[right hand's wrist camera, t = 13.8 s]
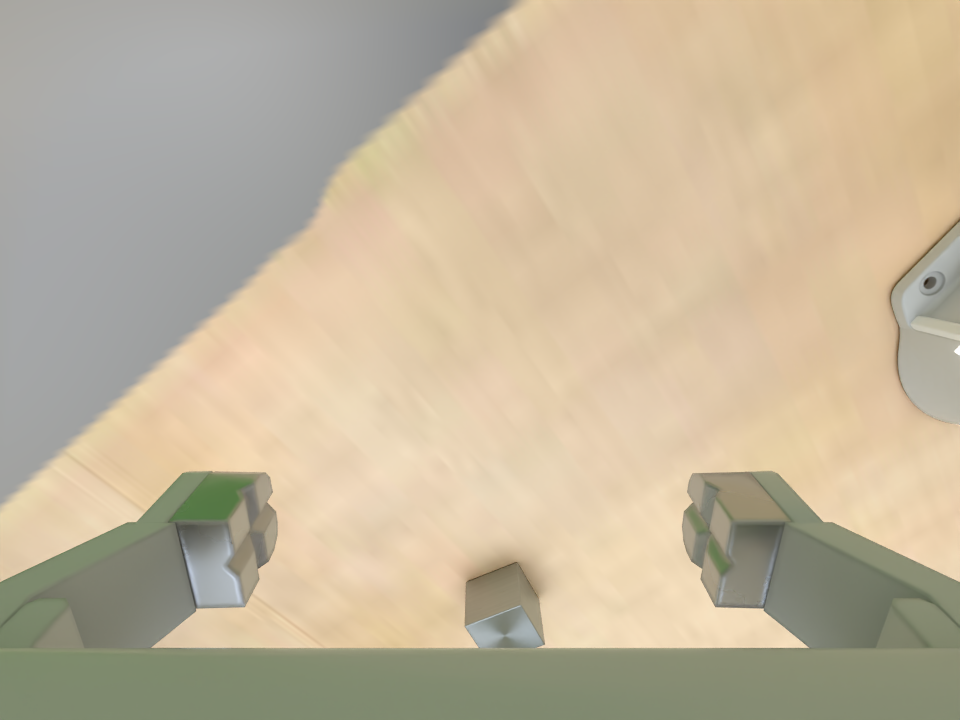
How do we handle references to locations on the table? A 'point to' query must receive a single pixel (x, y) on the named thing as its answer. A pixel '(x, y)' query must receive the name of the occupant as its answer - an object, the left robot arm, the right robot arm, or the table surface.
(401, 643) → the table surface
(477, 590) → the block
